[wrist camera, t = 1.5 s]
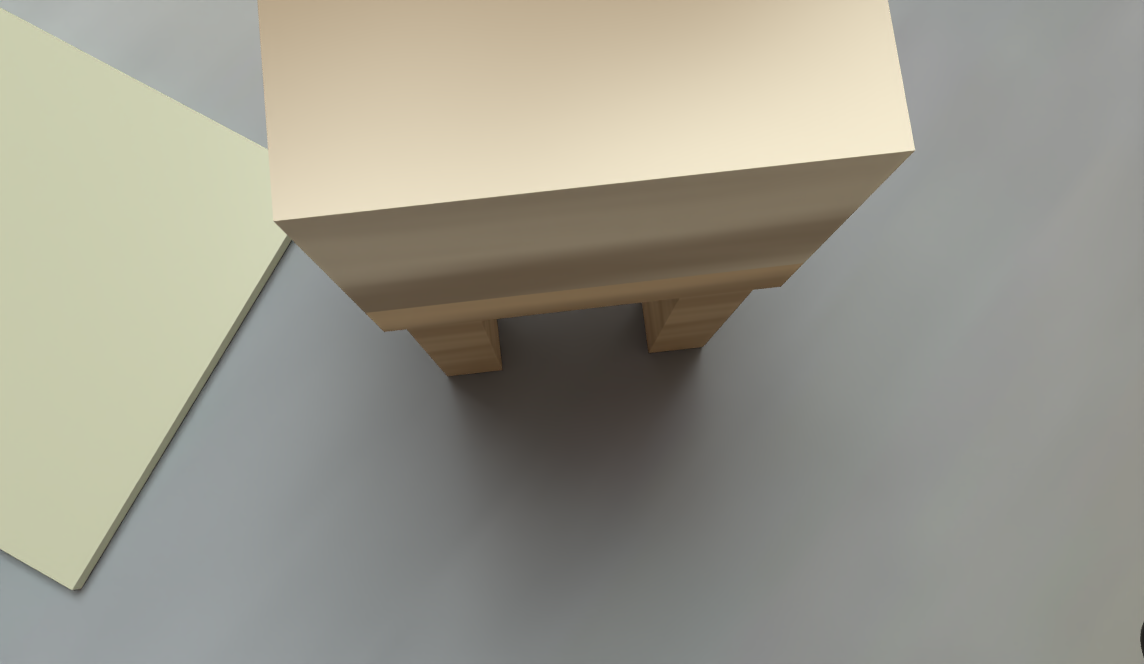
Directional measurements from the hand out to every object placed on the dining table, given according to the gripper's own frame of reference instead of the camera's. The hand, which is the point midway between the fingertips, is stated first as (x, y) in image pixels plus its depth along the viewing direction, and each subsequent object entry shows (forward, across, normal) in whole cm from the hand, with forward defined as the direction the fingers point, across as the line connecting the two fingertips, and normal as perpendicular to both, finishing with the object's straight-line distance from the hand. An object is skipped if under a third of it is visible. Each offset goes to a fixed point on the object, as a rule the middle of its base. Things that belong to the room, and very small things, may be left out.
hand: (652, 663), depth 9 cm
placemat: (+15, +12, +4) cm, 19 cm away
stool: (+14, 0, +4) cm, 15 cm away
